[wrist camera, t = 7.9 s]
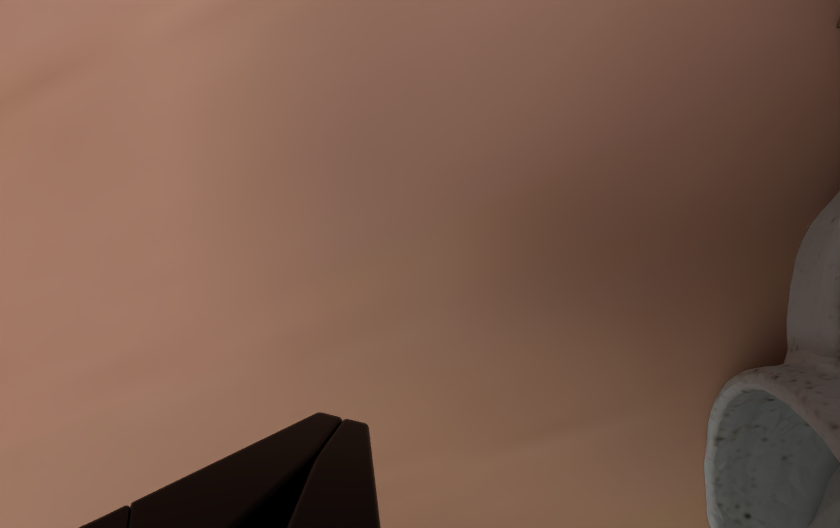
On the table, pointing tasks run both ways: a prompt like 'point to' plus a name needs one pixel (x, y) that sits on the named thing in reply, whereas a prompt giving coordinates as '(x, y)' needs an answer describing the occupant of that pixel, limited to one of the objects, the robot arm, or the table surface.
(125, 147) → the table surface
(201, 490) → the robot arm
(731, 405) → the ceramic mug
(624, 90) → the table surface
